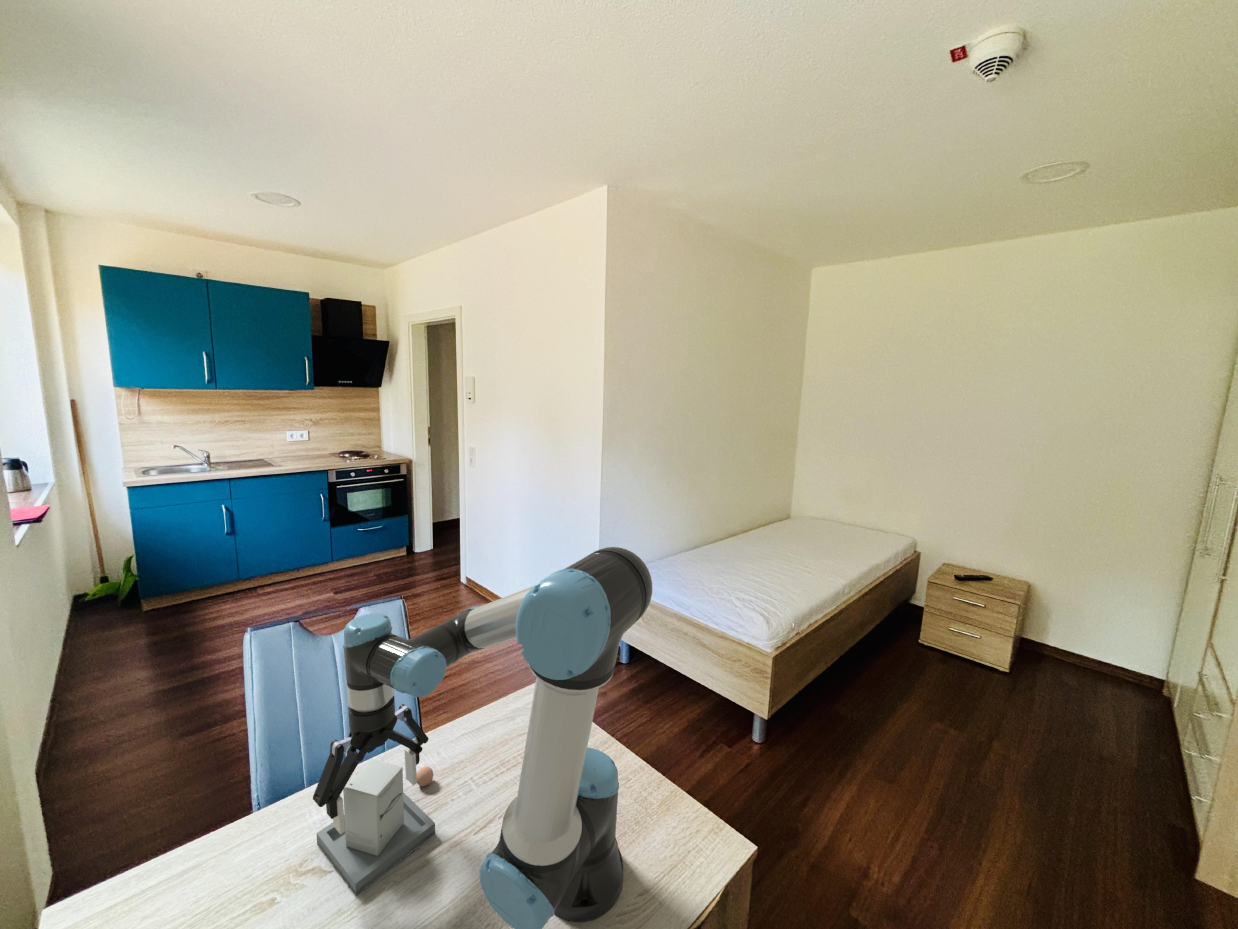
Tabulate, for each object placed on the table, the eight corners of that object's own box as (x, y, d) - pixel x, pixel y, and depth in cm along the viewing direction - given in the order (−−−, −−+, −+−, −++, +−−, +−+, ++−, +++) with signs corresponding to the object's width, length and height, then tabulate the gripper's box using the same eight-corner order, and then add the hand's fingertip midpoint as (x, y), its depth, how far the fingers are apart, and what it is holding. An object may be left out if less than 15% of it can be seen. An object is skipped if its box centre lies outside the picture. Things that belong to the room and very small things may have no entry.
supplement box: (378, 857, 89) (375, 796, 87) (344, 846, 90) (341, 786, 88) (405, 823, 96) (403, 766, 94) (373, 813, 97) (371, 757, 95)
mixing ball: (436, 782, 107) (436, 768, 106) (421, 793, 104) (421, 778, 103) (427, 774, 109) (427, 760, 108) (412, 784, 106) (412, 769, 106)
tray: (435, 834, 95) (435, 823, 94) (355, 896, 83) (355, 884, 82) (394, 793, 104) (393, 783, 103) (317, 844, 92) (316, 833, 91)
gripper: (423, 663, 101) (426, 755, 104) (284, 728, 81) (294, 839, 84) (444, 676, 96) (447, 772, 99) (303, 748, 76) (313, 865, 80)
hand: (377, 803), depth 92 cm, fingers open, 13 cm apart
